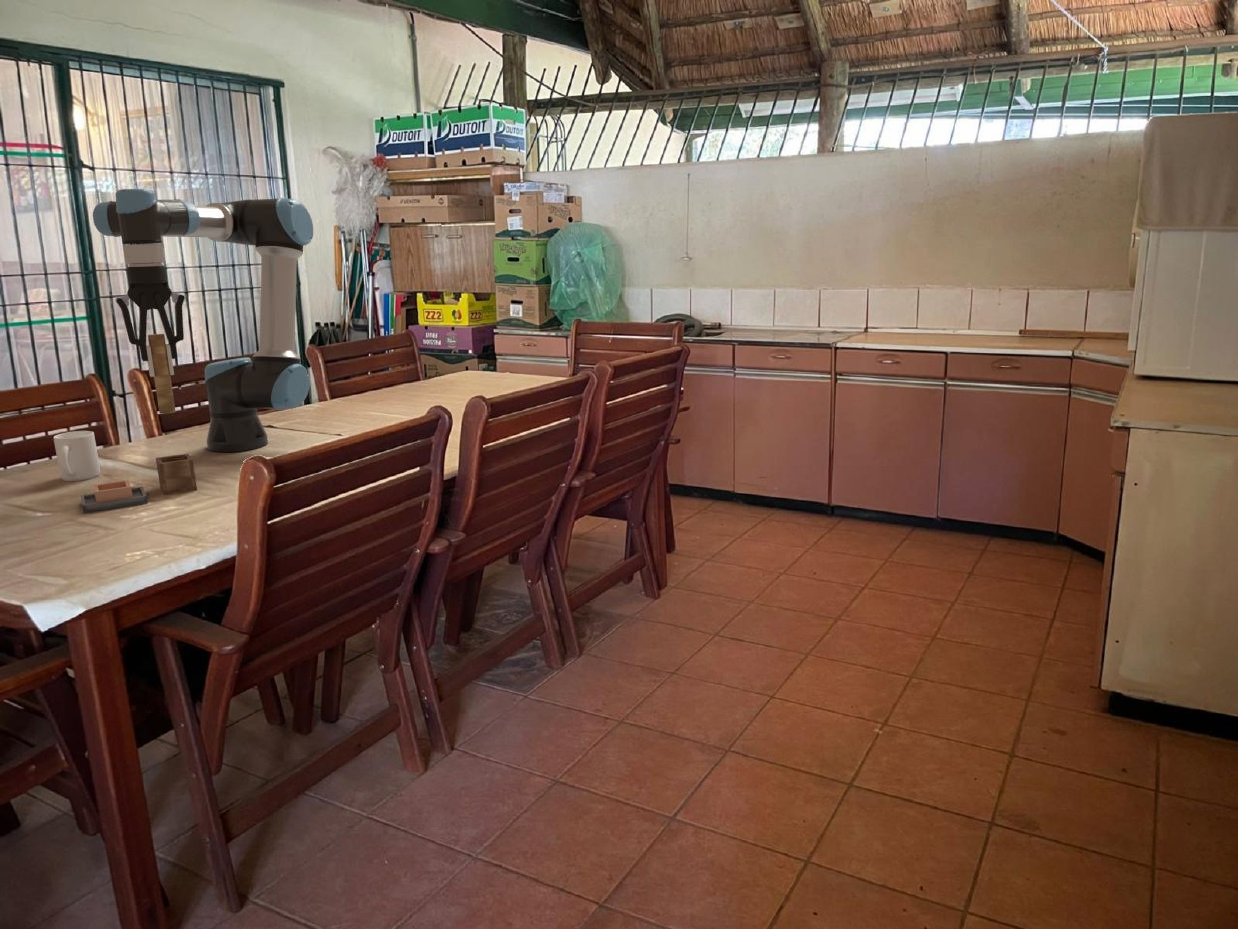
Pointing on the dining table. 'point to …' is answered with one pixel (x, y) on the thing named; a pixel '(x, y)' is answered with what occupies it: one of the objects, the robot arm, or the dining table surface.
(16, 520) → the dining table surface
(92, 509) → the tray
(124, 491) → the holder
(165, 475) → the pen cup
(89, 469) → the mug
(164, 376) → the dowel
